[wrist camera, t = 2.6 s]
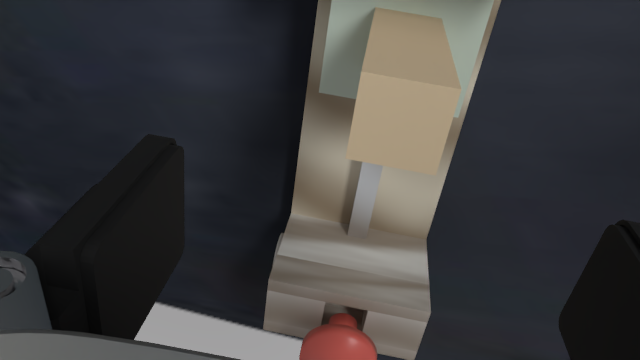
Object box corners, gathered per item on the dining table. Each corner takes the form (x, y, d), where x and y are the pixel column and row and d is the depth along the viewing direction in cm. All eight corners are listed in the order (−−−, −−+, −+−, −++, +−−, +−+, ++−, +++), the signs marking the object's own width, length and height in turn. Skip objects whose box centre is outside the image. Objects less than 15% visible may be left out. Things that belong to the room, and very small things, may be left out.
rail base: (335, -170, 23) (307, -190, 17) (536, -138, 23) (593, -147, 16) (283, 245, 37) (256, 328, 30) (411, 270, 36) (413, 360, 29)
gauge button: (312, 290, 27) (304, 328, 25) (385, 305, 27) (383, 345, 25) (304, 340, 29) (295, 379, 27) (371, 354, 29) (368, 395, 27)
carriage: (343, -45, 24) (301, 9, 14) (487, -21, 24) (548, 51, 14) (326, 72, 28) (281, 185, 17) (452, 95, 27) (483, 224, 17)
